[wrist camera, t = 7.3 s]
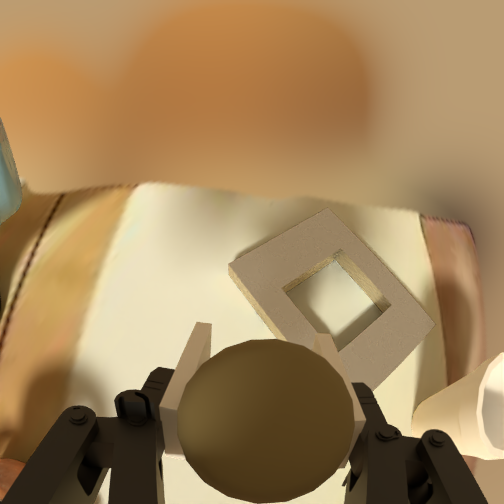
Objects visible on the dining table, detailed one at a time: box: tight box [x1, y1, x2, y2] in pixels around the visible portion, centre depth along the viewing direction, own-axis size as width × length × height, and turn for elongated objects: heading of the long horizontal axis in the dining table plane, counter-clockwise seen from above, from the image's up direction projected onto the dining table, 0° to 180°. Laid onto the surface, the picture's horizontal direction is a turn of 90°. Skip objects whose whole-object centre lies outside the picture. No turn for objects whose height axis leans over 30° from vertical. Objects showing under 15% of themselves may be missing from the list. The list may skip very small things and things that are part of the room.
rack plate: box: [228, 208, 435, 392], centre depth 33 cm, size 20×15×2 cm
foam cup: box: [411, 353, 504, 460], centre depth 21 cm, size 10×9×13 cm
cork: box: [177, 339, 355, 504], centre depth 11 cm, size 6×6×11 cm
